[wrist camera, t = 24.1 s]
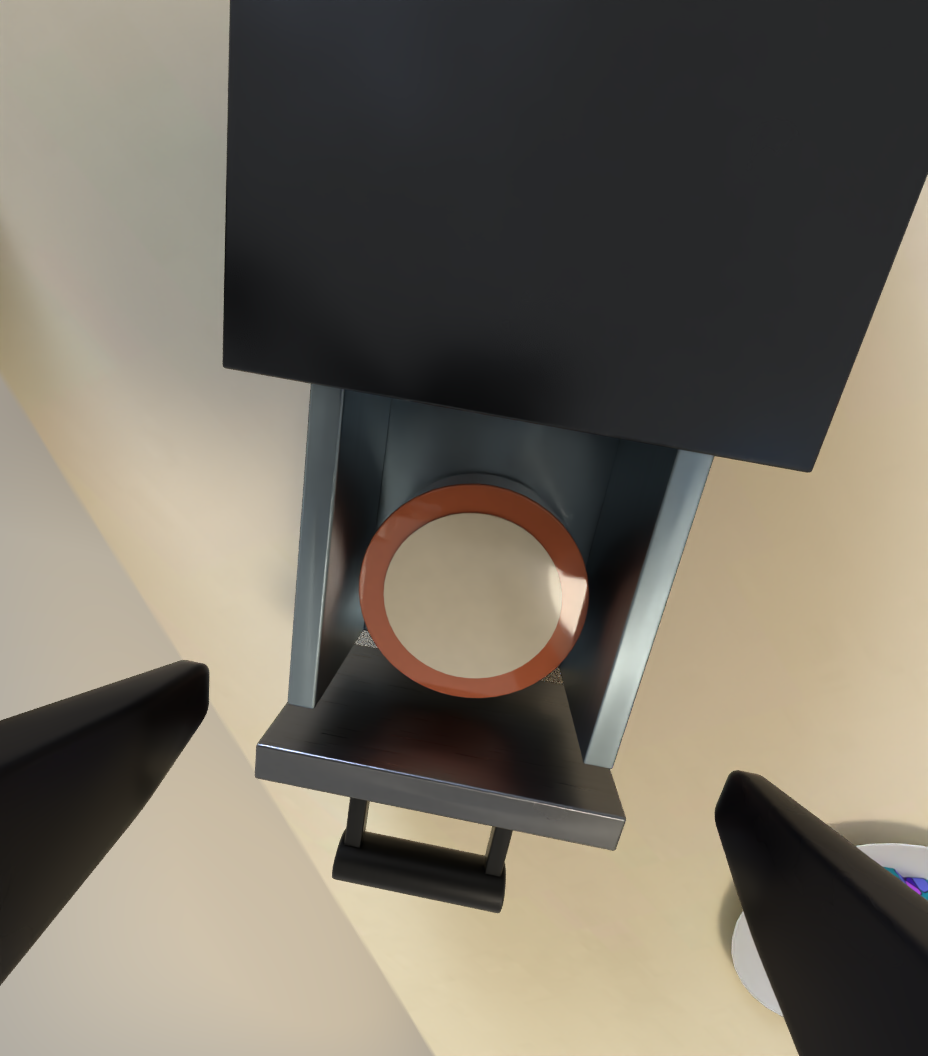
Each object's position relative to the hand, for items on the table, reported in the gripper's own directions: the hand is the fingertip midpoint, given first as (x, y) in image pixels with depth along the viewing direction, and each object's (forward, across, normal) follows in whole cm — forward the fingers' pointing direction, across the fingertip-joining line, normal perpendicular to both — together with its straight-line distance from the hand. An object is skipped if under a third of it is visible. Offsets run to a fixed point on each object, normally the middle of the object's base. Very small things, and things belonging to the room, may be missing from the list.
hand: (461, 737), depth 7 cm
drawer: (+9, 0, +1) cm, 9 cm away
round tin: (+8, 0, 0) cm, 8 cm away
